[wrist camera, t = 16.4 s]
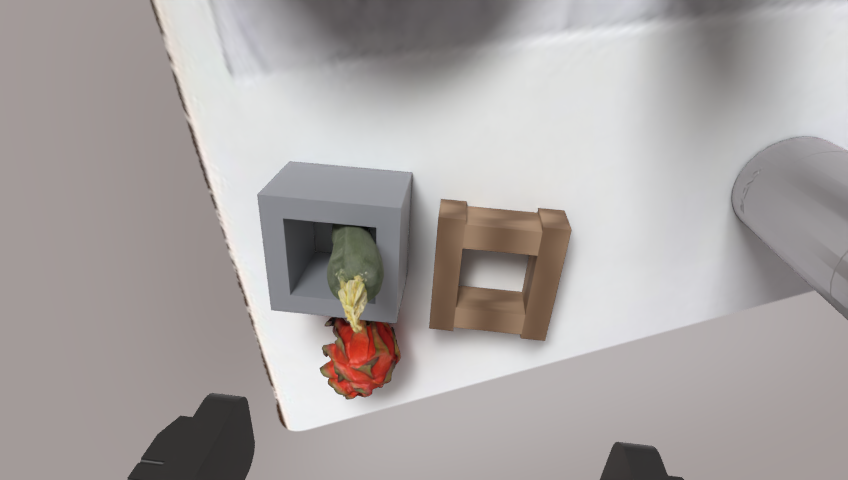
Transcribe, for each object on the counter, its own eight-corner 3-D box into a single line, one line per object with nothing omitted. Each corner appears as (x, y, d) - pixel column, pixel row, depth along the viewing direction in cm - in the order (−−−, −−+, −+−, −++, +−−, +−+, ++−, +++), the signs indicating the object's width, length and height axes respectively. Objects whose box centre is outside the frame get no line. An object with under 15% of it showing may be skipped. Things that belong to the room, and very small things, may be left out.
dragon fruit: (355, 361, 61) (374, 279, 57) (403, 400, 57) (428, 314, 52) (300, 386, 54) (317, 295, 50) (350, 433, 50) (374, 337, 46)
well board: (564, 210, 47) (571, 229, 43) (540, 316, 53) (544, 340, 49) (441, 199, 47) (438, 217, 44) (432, 305, 54) (429, 328, 50)
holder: (412, 172, 46) (400, 208, 39) (406, 276, 52) (396, 323, 45) (289, 161, 47) (257, 194, 40) (298, 265, 53) (271, 310, 46)
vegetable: (336, 197, 48) (330, 276, 29) (378, 206, 49) (398, 287, 30) (328, 238, 49) (317, 339, 31) (369, 246, 50) (383, 347, 32)
